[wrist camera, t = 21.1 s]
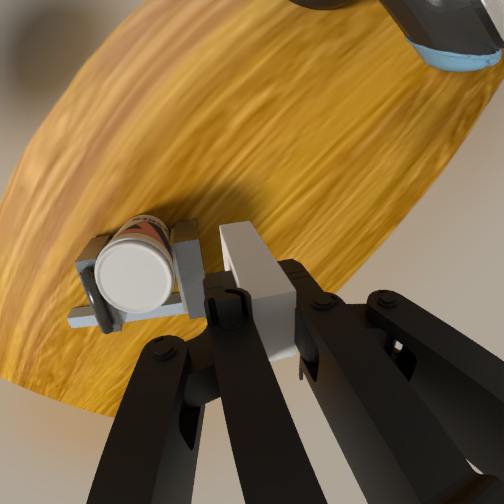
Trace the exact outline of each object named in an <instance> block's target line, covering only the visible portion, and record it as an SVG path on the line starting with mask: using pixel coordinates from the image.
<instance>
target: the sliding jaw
mask: <svg viewBox="0 0 504 504" xmlns="http://www.w3.org/2000/svg"><path fill="white" fill-rule="evenodd" d="M110 241H111V236H110V235H106V236H101V237H95V238H92V239H91V240H90V241H89V243H88V244H87V246H86V247H85V248H84V250H83V251H82V253H81V254H80V255H79V257H78V258H77V260H76V261H75V265H76V268H77V271H78V274H79V276H80V279H81V282H82V285H83V288H84V290H85V293H86V295H87V298H88V301H89V303H90V306H91V308H92V310H93V313H94V315H95V318H96V320H97V322H98V325H99V327H100V329H101V331H102V333H105V334H109V333H111V332H116V331H122V326H123V323H125V322H126V318H127V313H128V312H125V311H122V310H120V309H117V308H116V307H114V306H113V305H111V304H110V303H109V302H108V301H107V300H106V299H105V298H104V297H103V296H102V294H101V293H100V291H99V289H98V286H97V283H96V280H95V264H96V260H97V258H98V256H99V254H100V252H101V251H102V250H103V248H104V247H105V246H106V245H108V243H109V242H110Z"/></svg>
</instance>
